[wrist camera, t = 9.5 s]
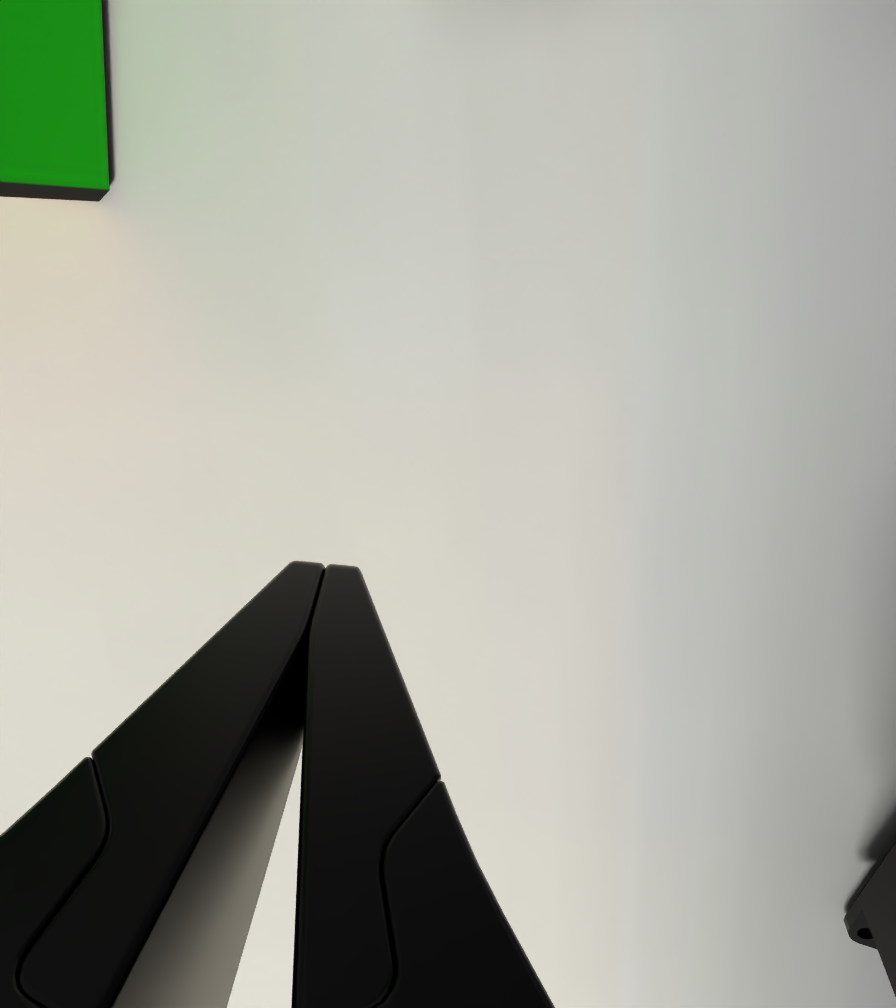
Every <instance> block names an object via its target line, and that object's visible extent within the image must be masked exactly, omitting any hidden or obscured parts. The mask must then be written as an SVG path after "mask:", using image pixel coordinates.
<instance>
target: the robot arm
mask: <svg viewBox="0 0 896 1008" xmlns="http://www.w3.org/2000/svg"><path fill="white" fill-rule="evenodd" d="M302 744H303V750H302V773H301V797H300V820H299V844H298V868H297V891H296V915H295V939H294V962H293V986H292V1008H555V1007H554V1005H553V1003H552V1001H551V1000H550V998H549V996H548V994H547V992H546V990H545V989H544V987H543V985H542V983H541V981H540V979H539V978H538V976H537V974H536V972H535V970H534V968H533V967H532V965H531V963H530V961H529V959H528V957H527V956H526V954H525V952H524V950H523V948H522V946H521V945H520V943H519V941H518V939H517V937H516V935H515V934H514V932H513V930H512V928H511V926H510V924H509V923H508V921H507V919H506V917H505V915H504V913H503V911H502V909H501V907H500V905H499V904H498V902H497V900H496V898H495V896H494V894H493V892H492V890H491V888H490V886H489V884H488V882H487V880H486V878H485V876H484V874H483V872H482V870H481V868H480V866H479V864H478V862H477V860H476V858H475V855H474V853H473V851H472V849H471V846H470V844H469V842H468V839H467V837H466V835H465V832H464V830H463V828H462V825H461V823H460V821H459V819H458V816H457V814H456V811H455V809H454V806H453V804H452V801H451V799H450V796H449V794H448V791H447V789H446V786H445V784H444V782H442V781H440V780H441V774H440V772H439V769H438V767H437V764H436V761H435V759H434V756H433V754H432V751H431V749H430V746H429V744H428V741H427V739H426V736H425V733H424V731H423V728H422V726H421V723H420V721H419V718H418V716H417V713H416V711H415V708H414V705H413V703H412V700H411V698H410V695H409V693H408V690H407V688H406V685H405V682H404V680H403V677H402V675H401V672H400V670H399V667H398V665H397V662H396V660H395V657H394V654H393V652H392V649H391V647H390V644H389V642H388V639H387V637H386V634H385V632H384V629H383V626H382V624H381V621H380V619H379V616H378V614H377V611H376V609H375V606H374V603H373V601H372V598H371V596H370V593H369V591H368V588H367V586H366V583H365V581H364V578H363V575H362V573H361V571H360V569H359V568H358V567H355V566H347V565H336V564H330V565H328V566H327V567H326V568H325V567H324V565H323V564H322V563H315V562H305V561H293V562H291V563H289V564H288V565H287V566H286V567H285V568H284V569H283V570H282V571H281V572H280V573H279V574H278V575H277V576H276V577H275V578H273V579H272V580H271V581H270V582H269V583H268V584H267V585H266V586H265V587H264V588H263V589H262V590H261V591H260V592H259V593H258V594H257V595H256V596H255V597H254V598H252V599H251V600H250V601H249V602H248V603H247V604H246V605H245V606H244V607H243V608H242V609H241V610H240V611H239V612H238V613H237V614H236V615H235V616H234V617H233V618H231V619H230V620H229V621H228V622H227V623H226V624H225V625H224V626H223V627H222V628H221V629H220V630H219V631H218V632H217V633H216V634H215V635H214V636H213V637H212V638H210V639H209V640H208V641H207V642H206V643H205V644H204V645H203V646H202V647H201V648H200V649H199V650H198V651H197V652H196V653H195V654H194V655H193V656H192V657H191V658H189V659H188V660H187V661H186V662H185V663H184V664H183V665H182V666H181V667H180V668H179V669H178V670H177V671H176V672H175V673H174V674H173V675H172V676H171V677H170V678H168V679H167V680H166V681H165V682H164V683H163V684H162V685H161V686H160V687H159V688H158V689H157V690H156V691H155V692H154V693H153V694H152V695H151V696H150V697H149V698H147V699H146V700H145V701H144V702H143V703H142V704H141V705H140V706H139V707H138V708H137V709H136V710H135V711H134V712H133V713H132V714H131V715H130V716H129V717H128V718H126V719H125V720H124V721H123V722H122V723H121V724H120V725H119V726H118V727H117V728H116V729H115V730H114V731H113V732H112V733H111V734H110V735H109V736H108V737H107V738H105V739H104V740H103V741H102V742H101V743H100V744H99V745H98V746H97V747H96V748H95V749H94V750H93V751H92V753H91V755H92V758H90V757H86V758H84V759H83V760H82V761H81V762H80V763H79V764H78V765H77V766H76V767H75V768H73V769H72V770H71V771H70V772H69V773H68V774H67V775H66V776H65V777H64V778H63V779H62V780H61V781H60V782H59V783H58V784H57V785H56V786H55V787H53V788H52V789H51V790H50V791H49V792H48V793H47V794H46V795H45V796H44V797H42V798H41V799H40V800H39V801H38V802H37V803H36V804H35V805H34V806H33V807H31V808H30V809H29V810H28V811H27V812H26V813H25V814H24V815H23V816H22V817H20V818H19V819H18V820H17V821H16V822H15V823H14V824H13V825H12V826H10V827H9V828H8V829H7V830H6V831H5V832H4V833H3V834H1V835H0V1008H227V1004H228V1001H229V997H230V994H231V990H232V987H233V983H234V980H235V977H236V973H237V970H238V966H239V963H240V959H241V956H242V952H243V949H244V946H245V942H246V939H247V935H248V932H249V928H250V925H251V921H252V918H253V915H254V911H255V908H256V904H257V901H258V897H259V894H260V890H261V887H262V884H263V880H264V877H265V873H266V870H267V866H268V863H269V859H270V856H271V853H272V849H273V846H274V842H275V839H276V835H277V832H278V828H279V825H280V822H281V818H282V815H283V811H284V808H285V804H286V801H287V797H288V794H289V791H290V787H291V784H292V780H293V777H294V773H295V770H296V766H297V763H298V760H299V756H300V752H301V748H302ZM92 759H93V760H92ZM844 922H845V925H846V928H847V931H848V934H849V937H850V938H851V939H852V940H853V941H855V942H857V943H859V944H863V945H866V946H869V947H872V948H875V949H878V952H879V954H880V957H881V959H882V962H883V965H884V967H885V970H886V973H887V975H888V978H889V981H890V983H891V986H892V989H893V991H894V994H895V996H896V843H895V845H894V846H893V847H892V849H891V850H890V852H889V853H888V855H887V856H886V858H885V859H884V860H883V862H882V863H881V865H880V866H879V868H878V869H877V871H876V872H875V873H874V875H873V876H872V878H871V879H870V881H869V882H868V884H867V885H866V886H865V888H864V889H863V891H862V892H861V894H860V895H859V897H858V898H857V899H856V901H855V902H854V904H853V905H852V907H851V908H850V910H849V911H848V912H847V914H846V915H845V918H844Z"/></svg>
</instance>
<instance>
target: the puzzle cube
mask: <svg viewBox="0 0 896 1008" xmlns="http://www.w3.org/2000/svg"><path fill="white" fill-rule="evenodd" d="M108 191H109V167H108V143H107V119H106V95H105V70H104V46H103V22H102V0H0V196H3V197H23V198H42V199H62V200H81V201H100V200H101V199H102V198H103V197H104V195H105V194H106V193H107V192H108Z"/></svg>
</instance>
